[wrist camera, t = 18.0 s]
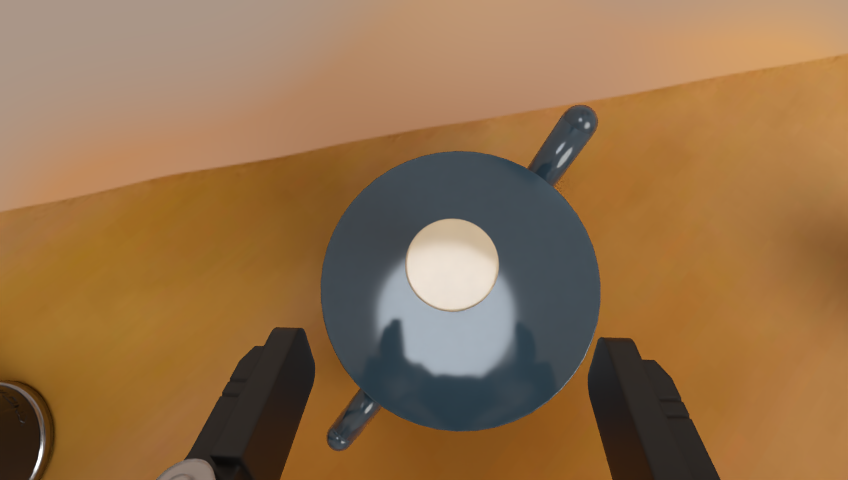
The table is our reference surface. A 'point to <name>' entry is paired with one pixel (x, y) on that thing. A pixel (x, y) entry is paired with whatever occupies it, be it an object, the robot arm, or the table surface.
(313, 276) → the table surface
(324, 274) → the pot lid
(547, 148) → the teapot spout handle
